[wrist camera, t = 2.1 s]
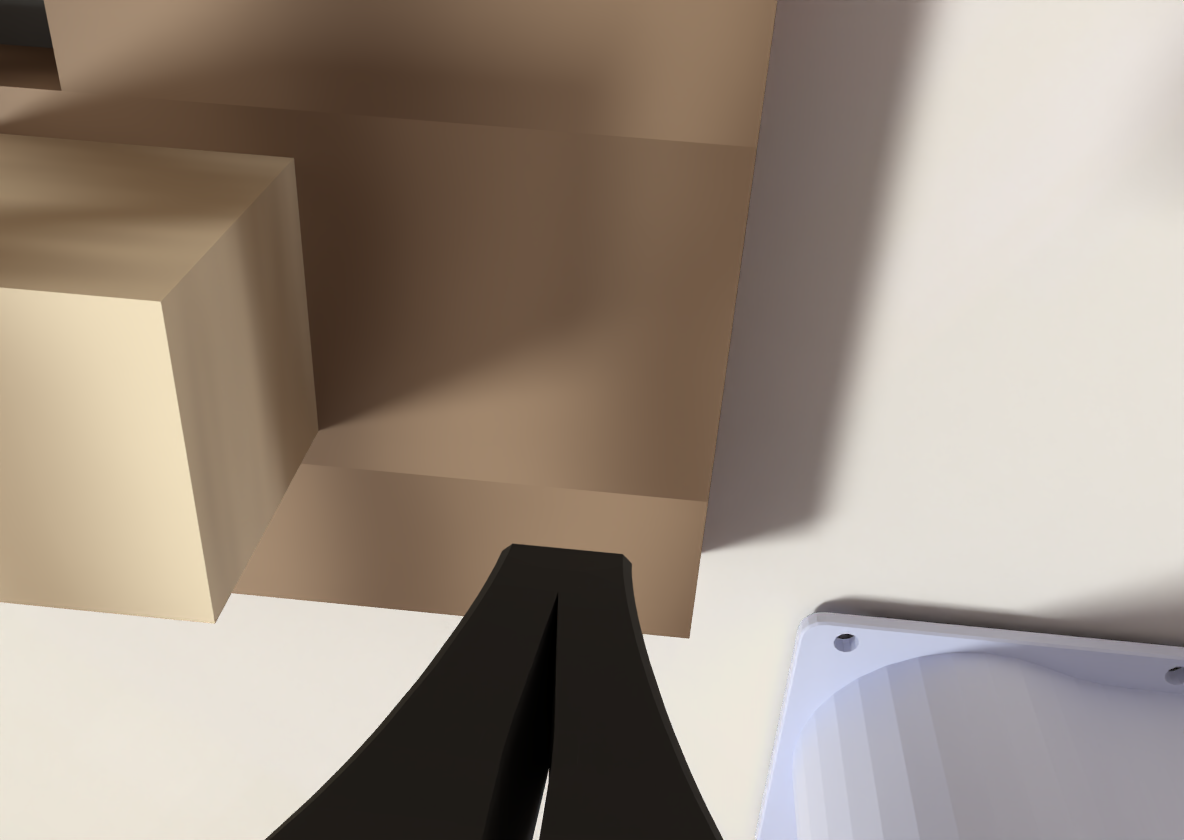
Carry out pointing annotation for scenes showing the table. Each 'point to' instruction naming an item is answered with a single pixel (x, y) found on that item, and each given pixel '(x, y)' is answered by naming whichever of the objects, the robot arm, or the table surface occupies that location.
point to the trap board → (463, 259)
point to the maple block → (146, 371)
